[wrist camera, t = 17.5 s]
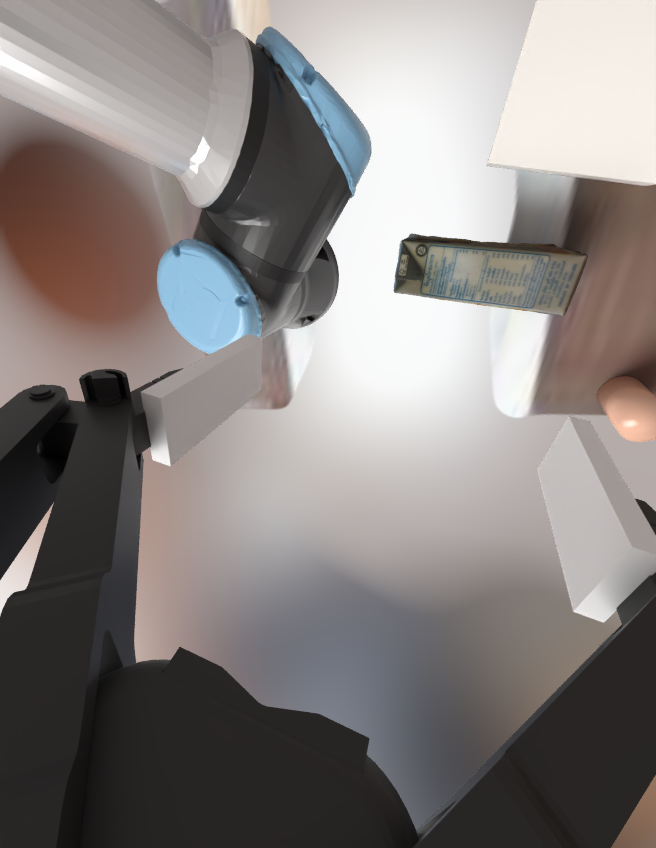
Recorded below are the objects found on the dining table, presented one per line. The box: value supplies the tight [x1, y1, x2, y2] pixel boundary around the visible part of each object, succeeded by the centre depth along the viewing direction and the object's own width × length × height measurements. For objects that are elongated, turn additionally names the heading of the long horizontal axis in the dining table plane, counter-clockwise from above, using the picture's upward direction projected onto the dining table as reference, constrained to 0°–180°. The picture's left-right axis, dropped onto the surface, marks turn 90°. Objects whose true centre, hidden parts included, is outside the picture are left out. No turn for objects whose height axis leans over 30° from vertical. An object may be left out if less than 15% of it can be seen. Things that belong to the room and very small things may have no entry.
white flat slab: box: [487, 0, 656, 186], centre depth 32 cm, size 16×20×3 cm
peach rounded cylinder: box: [597, 376, 656, 442], centre depth 44 cm, size 5×5×8 cm
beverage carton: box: [394, 234, 588, 315], centre depth 42 cm, size 8×19×7 cm
